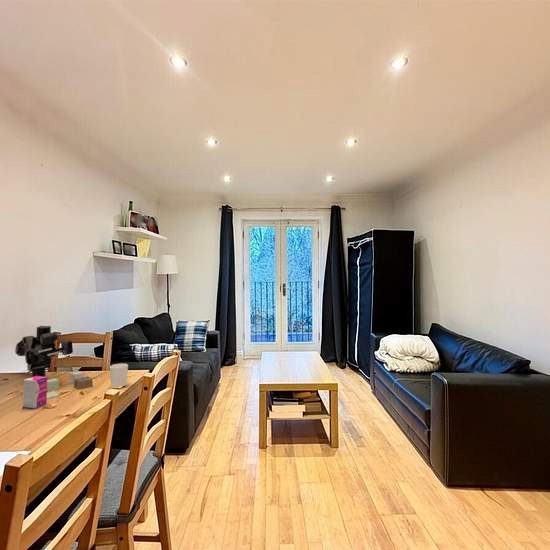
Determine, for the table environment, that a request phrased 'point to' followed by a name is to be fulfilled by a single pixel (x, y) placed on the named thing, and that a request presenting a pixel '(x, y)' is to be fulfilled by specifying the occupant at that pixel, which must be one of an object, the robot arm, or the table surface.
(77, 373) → the grey block
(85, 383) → the walnut base
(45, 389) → the supplement box
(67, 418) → the table surface
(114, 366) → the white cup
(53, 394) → the tile
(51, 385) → the sage block
